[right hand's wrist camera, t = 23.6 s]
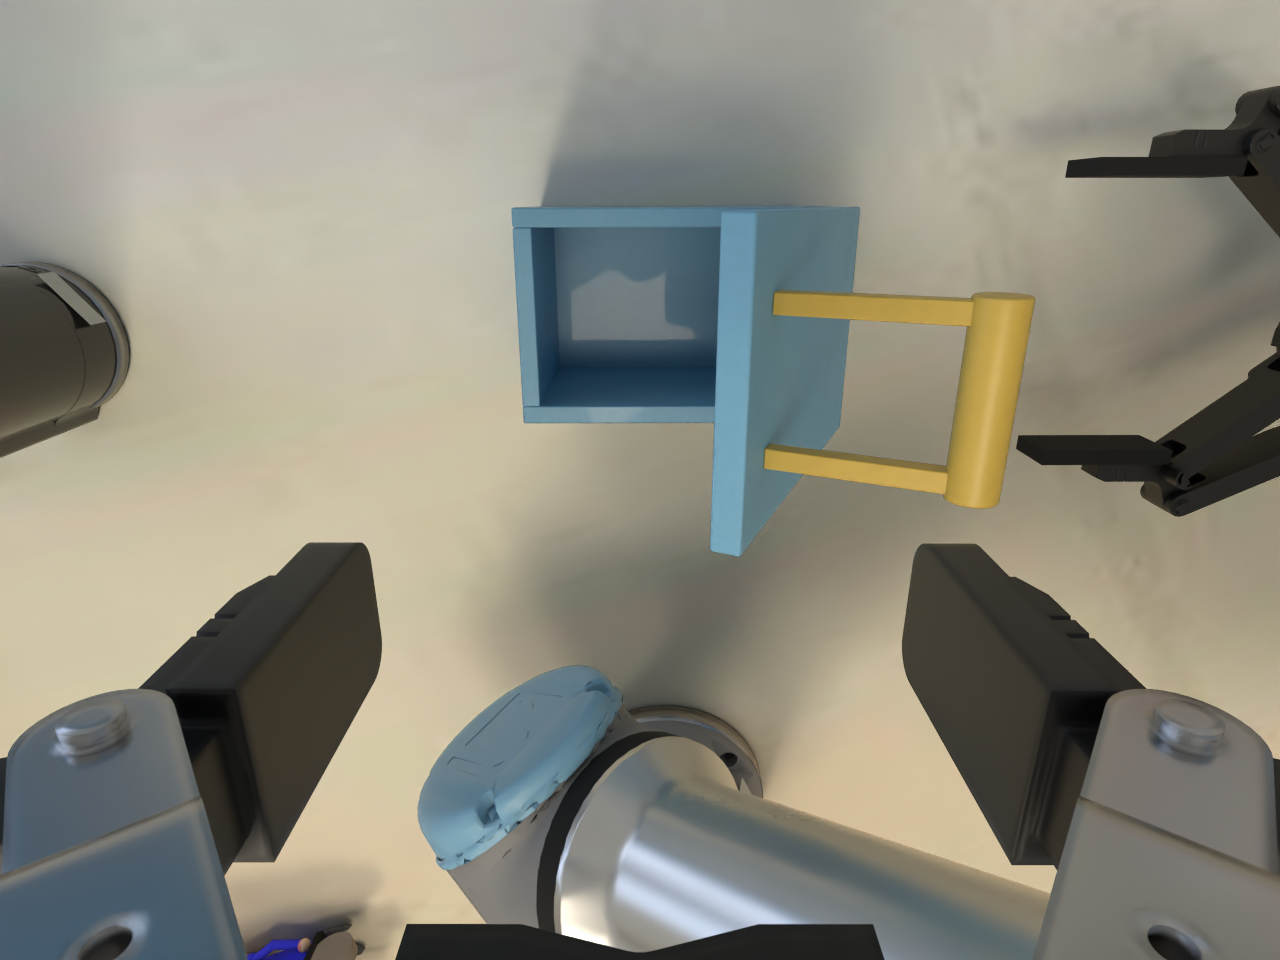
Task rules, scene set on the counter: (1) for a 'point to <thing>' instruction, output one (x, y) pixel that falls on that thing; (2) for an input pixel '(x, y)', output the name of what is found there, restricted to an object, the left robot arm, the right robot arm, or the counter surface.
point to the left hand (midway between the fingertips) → (1053, 317)
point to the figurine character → (313, 947)
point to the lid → (837, 370)
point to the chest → (619, 312)
